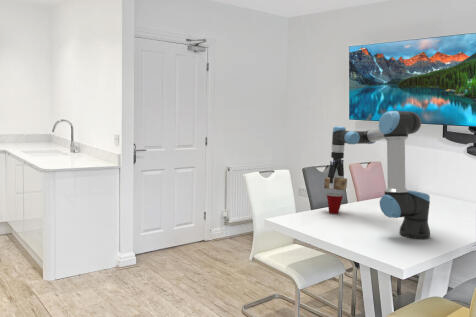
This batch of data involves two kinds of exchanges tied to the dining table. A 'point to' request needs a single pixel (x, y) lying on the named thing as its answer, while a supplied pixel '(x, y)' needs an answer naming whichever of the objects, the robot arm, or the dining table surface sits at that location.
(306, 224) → the dining table surface
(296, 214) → the dining table surface
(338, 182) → the brown wooden block
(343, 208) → the dining table surface
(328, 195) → the plastic cup
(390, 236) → the dining table surface
